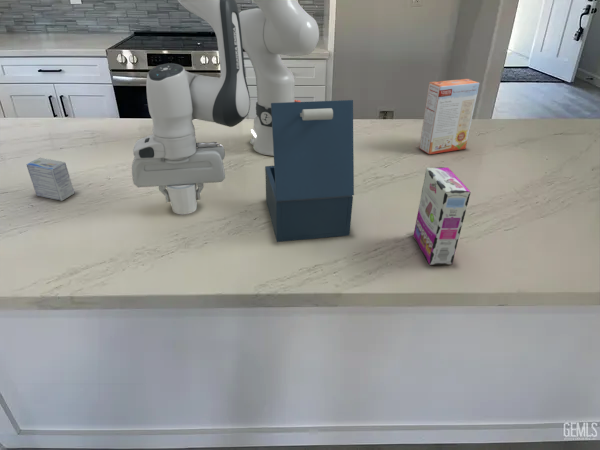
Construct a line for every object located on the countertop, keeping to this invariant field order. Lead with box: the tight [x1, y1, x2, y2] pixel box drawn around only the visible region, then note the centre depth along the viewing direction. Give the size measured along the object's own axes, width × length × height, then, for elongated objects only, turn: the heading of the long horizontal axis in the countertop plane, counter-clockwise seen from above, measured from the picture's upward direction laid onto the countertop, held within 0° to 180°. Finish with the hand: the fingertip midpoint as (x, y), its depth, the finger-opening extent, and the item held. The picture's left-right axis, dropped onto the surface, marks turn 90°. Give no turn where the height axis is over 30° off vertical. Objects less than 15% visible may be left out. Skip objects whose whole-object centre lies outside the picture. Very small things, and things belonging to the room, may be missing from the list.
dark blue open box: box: [264, 165, 354, 243], centre depth 100 cm, size 18×16×10 cm
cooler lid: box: [271, 99, 355, 201], centre depth 85 cm, size 19×16×5 cm
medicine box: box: [26, 157, 75, 202], centre depth 107 cm, size 8×4×9 cm, turn 71°
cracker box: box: [419, 78, 480, 155], centre depth 134 cm, size 14×6×21 cm, turn 111°
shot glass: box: [166, 184, 198, 215], centre depth 103 cm, size 7×7×7 cm
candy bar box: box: [412, 166, 472, 266], centre depth 87 cm, size 11×5×16 cm, turn 5°
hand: (183, 199), depth 103 cm, fingers closed on shot glass, 5 cm apart
